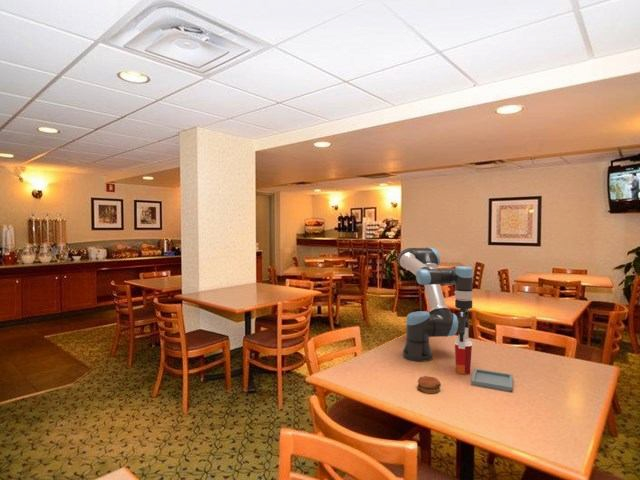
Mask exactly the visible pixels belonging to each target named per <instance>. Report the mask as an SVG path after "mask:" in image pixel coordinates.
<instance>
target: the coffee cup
mask: <svg viewBox="0 0 640 480" xmlns="http://www.w3.org/2000/svg"><path fill="white" fill-rule="evenodd" d="M453 344H454V354H455V357H454V358H455V371H456V373H457V374H460V375H470V373H471V363H472V361H471V360H472V349H473V348H472V347H473V342H472V341H471V340H470V339H469V338H468V339H465V349H460V348H458V338H455V340H454V342H453Z"/></svg>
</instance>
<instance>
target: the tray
mask: <svg viewBox="0 0 640 480" xmlns="http://www.w3.org/2000/svg"><path fill="white" fill-rule="evenodd" d="M513 376H514V375H513V373H506V372H500V371H492V370H487V369H480V368H474V370H473V372H472V376H471V380H470V385H471V386H475V387H479V388H480V387H481V388H486V389H492V390H497V391H503V392H508V393H513V384H514V383H513V382H514V381H513V379H514V377H513Z"/></svg>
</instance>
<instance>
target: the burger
mask: <svg viewBox="0 0 640 480" xmlns="http://www.w3.org/2000/svg"><path fill="white" fill-rule="evenodd" d="M441 387H442V384H441V382H440V380H439V379H438V378H436V377H434V376H429V375H428V376H427V375H423V376H422V375H421V376H419V378H418V379H417V389H418V390H420V391H421V392H423V393H426V394H433V395H434V394H438V393H439V392H440V389H441Z"/></svg>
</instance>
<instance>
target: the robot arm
mask: <svg viewBox="0 0 640 480" xmlns="http://www.w3.org/2000/svg"><path fill="white" fill-rule="evenodd" d="M440 259H441V257H440V253H439V251H437V249H436V248H433V247H407V248H405V249H403V250H402V251H400V253H399V254H398V257H397V262H398V264H399V266H400V267H402V268H403V269H405V270H408V271H409V272H411V273H412V274H413V275H414V276H415V277H416V278H415V280H416V281H417V283H418V285H423V286H424V288H425V290H424V291H425V293H426V297H427V301H428V305H429V312H428V311H425V310H420V311H419V310H418V311H412V312H409V313H408V314H407V316H406V322H405V323H406V325H405V327H406V333H405V337H406V339H405V343H404V348H403V349H402V356H403V358H404V359H406V360H410V361H413V362H428V361H431V360H433V351H432V348H431V345H430V338H433V337H435V338H439V337H441V338H442V337H446V338H447V337H452V336H453V337H454V336H455V335H458V338H457V339H458V348H460V349H465V339H468V340H469V328H471V325H470V323H469V322H470V321H469V310H471V309H473V296H474V295H473V281H474V278H473V276H474V275H473V267H471V266H466V265H464V266H460V265H459V266H458V265H457V266H455V268H453V267H448V268H438V267H439V266H440V264H441V260H440ZM442 285H454V286H455V287H454V290H455V291H454V292H453V294H454V295H455V299H454V302H455V303H454V305H455V306H454V307H455V308H457V309H460V311H458V316H457V315H456V314H455V313H452V310H451V309H450V308H449V307H448V306H447V304H446V300H445V297H444V293H443V291H442V290H443V289H442Z"/></svg>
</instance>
